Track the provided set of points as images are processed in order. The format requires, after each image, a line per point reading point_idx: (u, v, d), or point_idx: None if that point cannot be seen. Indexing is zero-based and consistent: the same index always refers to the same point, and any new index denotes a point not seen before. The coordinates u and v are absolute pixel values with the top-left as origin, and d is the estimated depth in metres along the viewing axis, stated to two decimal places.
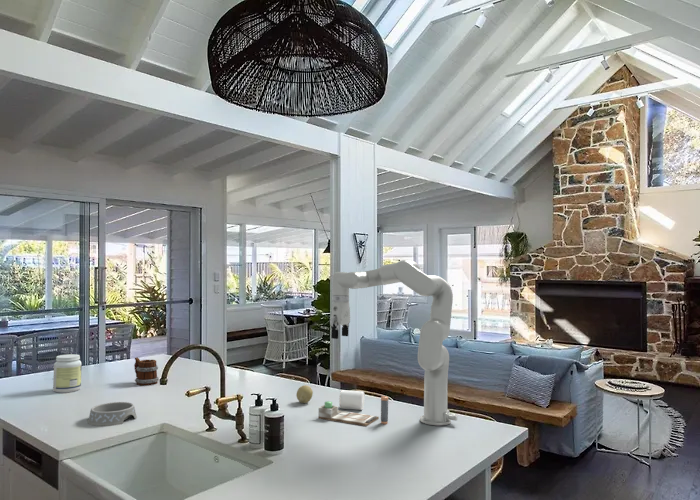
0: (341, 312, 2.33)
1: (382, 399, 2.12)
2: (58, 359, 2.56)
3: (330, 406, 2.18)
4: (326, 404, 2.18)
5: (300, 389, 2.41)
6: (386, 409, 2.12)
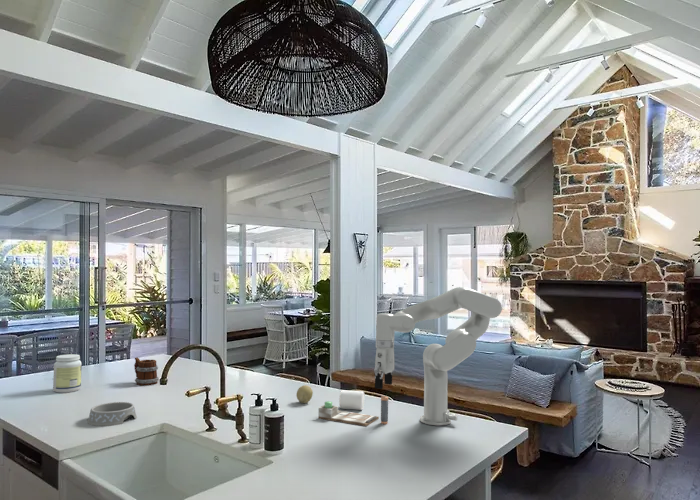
0: (386, 360, 2.09)
1: (382, 399, 2.12)
2: (58, 359, 2.56)
3: (330, 406, 2.18)
4: (326, 404, 2.18)
5: (300, 389, 2.41)
6: (386, 409, 2.12)
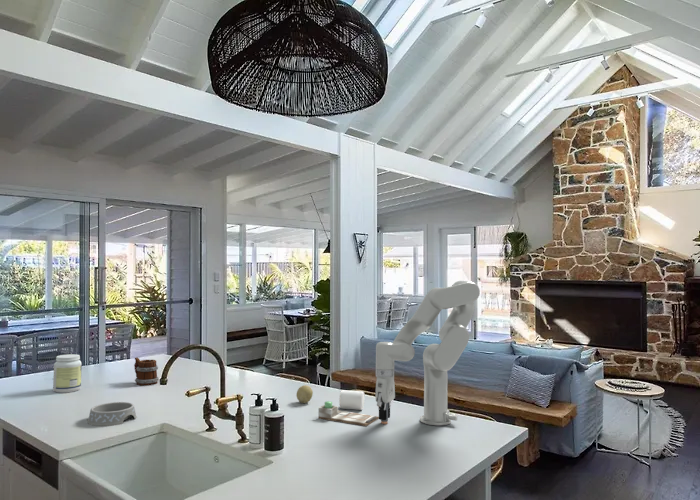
0: (386, 389, 2.08)
1: None
2: (58, 359, 2.56)
3: (330, 406, 2.18)
4: (326, 404, 2.18)
5: (300, 389, 2.41)
6: (386, 409, 2.12)
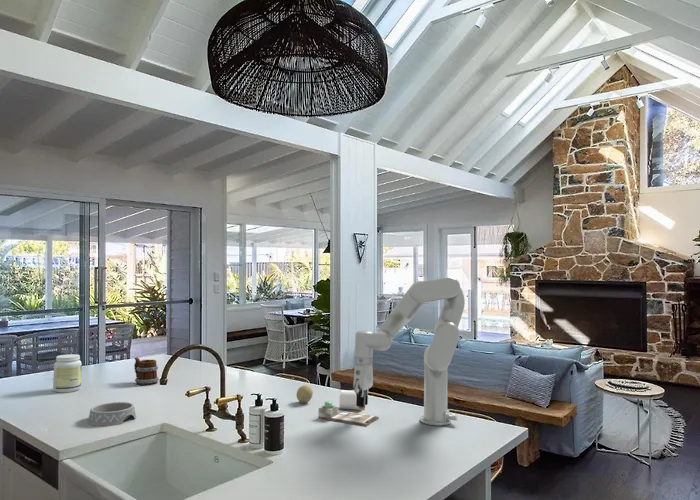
0: (364, 377, 2.14)
1: None
2: (58, 359, 2.56)
3: (330, 406, 2.18)
4: (326, 404, 2.18)
5: (300, 389, 2.41)
6: (363, 396, 2.17)
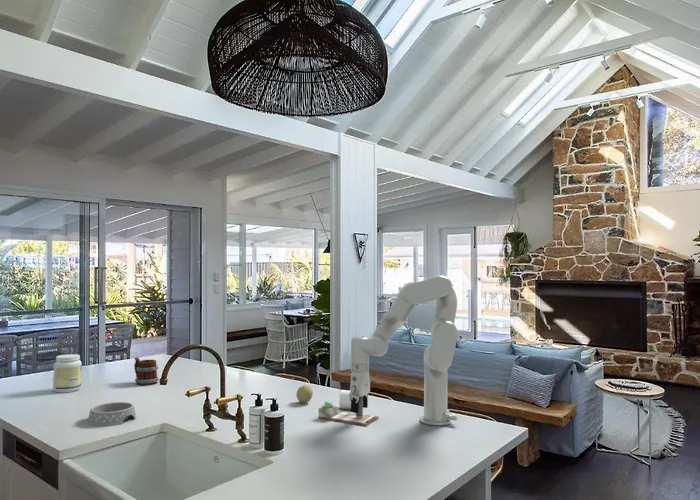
0: (360, 383, 2.12)
1: None
2: (58, 359, 2.56)
3: (330, 406, 2.18)
4: (326, 404, 2.18)
5: (300, 389, 2.41)
6: (360, 404, 2.15)
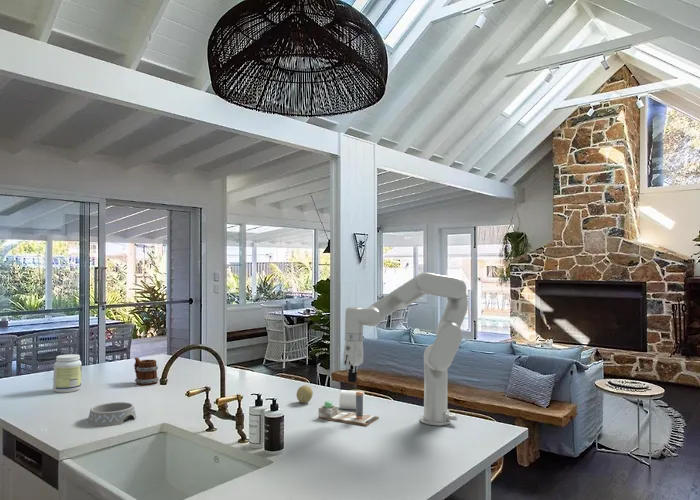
0: (354, 352, 2.13)
1: (357, 394, 2.15)
2: (58, 359, 2.56)
3: (330, 406, 2.18)
4: (326, 404, 2.18)
5: (300, 389, 2.41)
6: (360, 404, 2.15)
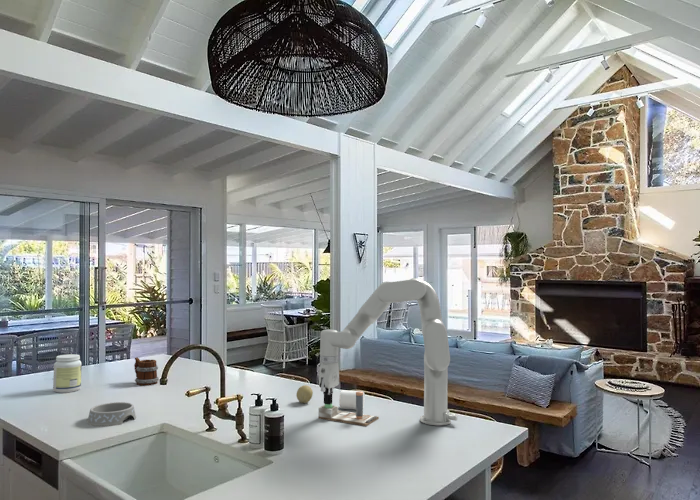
0: (329, 375, 2.15)
1: (357, 394, 2.15)
2: (58, 359, 2.56)
3: (330, 407, 2.18)
4: (326, 405, 2.18)
5: (300, 389, 2.41)
6: (360, 404, 2.15)
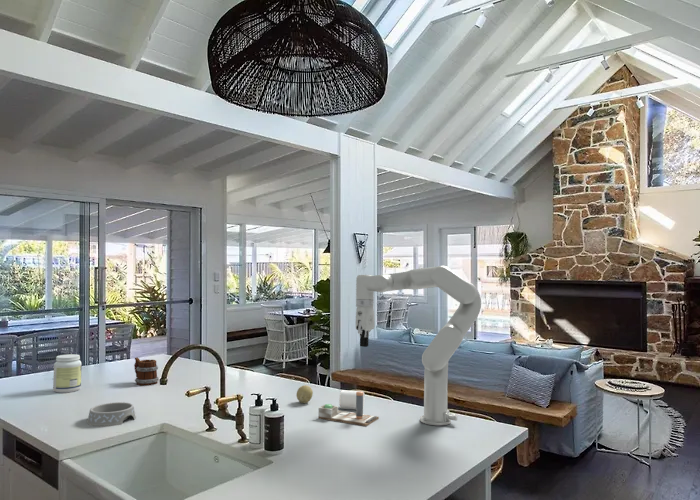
0: (365, 317, 2.21)
1: (357, 394, 2.15)
2: (58, 359, 2.56)
3: None
4: (326, 407, 2.18)
5: (300, 389, 2.41)
6: (361, 404, 2.15)
